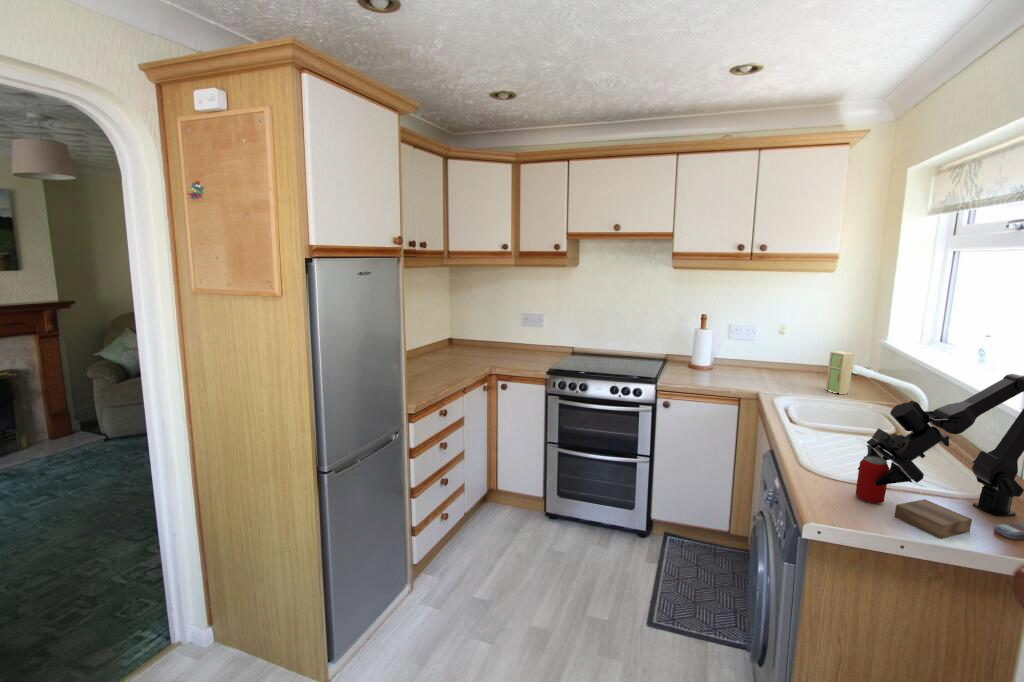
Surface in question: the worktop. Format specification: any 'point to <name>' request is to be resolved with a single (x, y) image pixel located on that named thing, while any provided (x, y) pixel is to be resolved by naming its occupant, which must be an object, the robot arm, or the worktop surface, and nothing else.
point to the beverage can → (871, 479)
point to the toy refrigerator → (839, 371)
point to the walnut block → (933, 518)
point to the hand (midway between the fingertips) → (867, 477)
